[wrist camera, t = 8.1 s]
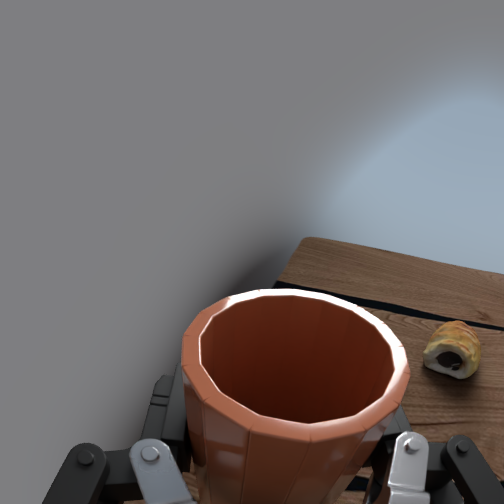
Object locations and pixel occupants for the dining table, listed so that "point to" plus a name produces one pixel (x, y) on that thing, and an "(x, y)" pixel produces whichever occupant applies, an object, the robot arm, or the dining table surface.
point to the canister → (287, 395)
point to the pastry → (453, 350)
